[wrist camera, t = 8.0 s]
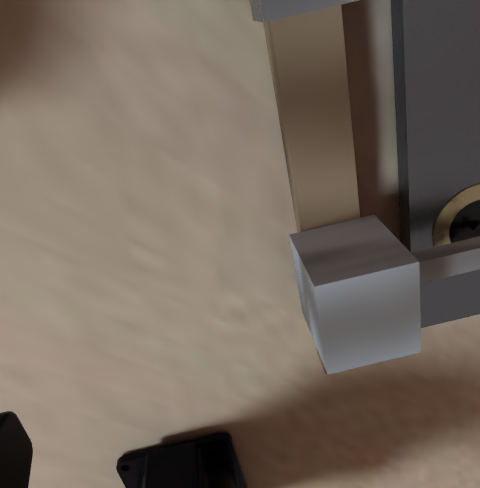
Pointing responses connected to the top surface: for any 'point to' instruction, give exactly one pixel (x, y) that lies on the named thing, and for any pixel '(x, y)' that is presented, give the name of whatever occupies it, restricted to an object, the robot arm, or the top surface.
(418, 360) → the top surface
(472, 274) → the hole plate
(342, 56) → the beam
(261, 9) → the sliding leg
